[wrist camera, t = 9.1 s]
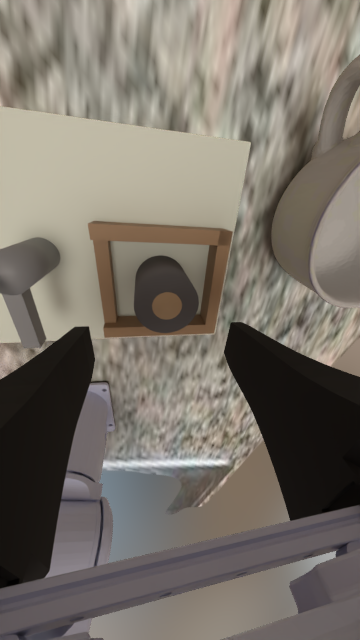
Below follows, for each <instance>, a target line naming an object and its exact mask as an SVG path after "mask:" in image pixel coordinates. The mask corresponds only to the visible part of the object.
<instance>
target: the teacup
mask: <svg viewBox="0 0 360 640" xmlns="http://www.w3.org/2000/svg"><path fill="white" fill-rule="evenodd" d="M359 85H360V55H359V56H358V57H356V58H355V59H354V60H353V61H352V62H351V63H350V64H349V65H348V66H347V68H346V69H345V70H344V71H343V72H342V74H341V75H340V76H339V78H338V79H337V81H336V83H335V84H334V86H333V88H332V90H331V92H330V95H329V98H328V100H327V103H326V106H325V109H324V113H323V116H322V120H321V125H320V131H319V136H318V141H317V143H316V144H315V145H314V147H313V150H312V159H311V161H310V162H309V163H307V164H306V165H305V166H304V167H303V168H302V169H301V170H300V172H299V173H298V174H297V175H296V176H295V177H294V179H293V180H292V181H291V183H290V184H289V186H288V187H287V189H286V190H285V192H284V194H283V195H282V197H281V199H280V201H279V204H278V206H277V209H276V212H275V215H274V218H273V223H272V232H271V241H272V248H273V251H274V255H275V257H276V259H277V261H278V262H279V264H280V266H281V267H282V268H283V269H284V270H285V271H286V272H287V273H288V274H289V275H290V276H292V277H293V278H294V279H296V280H297V281H299V282H300V283H302V284H303V285H305V286H306V287H308V288H309V289H311V290H312V291H314V292H316V293H317V294H318V295H319V296H320V297H321V298H322V299H323V300H325V301H326V302H328V303H330V304H332V305H335V306H337V307H343V308H359V307H360V131H359V132H358V133H357V134H356V135H355V136H352V137H350V138H347V139H345V140H343V138H342V136H343V131H344V126H345V122H346V118H347V114H348V111H349V108H350V105H351V102H352V100H353V98H354V95H355V93H356V91H357V89H358V87H359Z"/></svg>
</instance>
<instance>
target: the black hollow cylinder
mask: <svg viewBox="0 0 360 640" xmlns="http://www.w3.org/2000/svg"><path fill="white" fill-rule="evenodd" d="M198 306H199V298H198V294H197V291H196V289H195V288H194V286H193V284H192V283H191V281H190V280H189V278H188V276H187V275H186V273H185V272H184V270H183V268H182V267H181V265H180V264H179V263H178V262H177V261H176V260H174V259H173V258H171V257H168V256H163V255H159V256H153V257H150V258H148V259H147V260H145V261H144V262H143V263H142V264H141V265H140V266H139V268H138V270H137V272H136V277H135V292H134V311H135V315H136V317H137V319H138V320H139V321H140V323H141V324H142V325H143V326H145V327H146V328H148V329H149V330H152V331H154V332H159V333H171V332H175V331H178V330H180V329H182V328H184V327H185V326H187V325H188V324H189V323H190V322H191V321H192V320H193V318H194V317H195V315H196V313H197V311H198Z"/></svg>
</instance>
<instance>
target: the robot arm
mask: <svg viewBox="0 0 360 640" xmlns="http://www.w3.org/2000/svg"><path fill="white" fill-rule="evenodd" d="M224 354H225V357H226V360H227V363H228V365H229V368H230V370H231V372H232V374H233V376H234V378H235V379H236V381H237V383H238V385H239V387H240V389H241V391H242V392H243V394H244V396H245V398H246V400H247V402H248V404H249V406H250V408H251V410H252V412H253V414H254V417H255V419H256V421H257V424H258V426H259V429H260V431H261V434H262V436H263V439H264V442H265V444H266V447H267V449H268V452H269V455H270V458H271V461H272V464H273V466H274V469H275V472H276V475H277V478H278V482H279V485H280V488H281V491H282V494H283V498H284V501H285V504H286V507H287V511H288V514H289V518H290V521H288V522H284V523H279V524H275V525H271V526H267V527H262V528H258V529H254V530H250V531H245V532H241V533H237V534H233V535H228V536H224V537H220V538H215V539H211V540H206V541H202V542H198V543H194V544H189V545H185V546H181V547H176V548H172V549H168V550H163V551H159V552H155V553H151V554H146V555H142V556H138V557H133V558H129V559H125V560H121V561H116V562H112V563H108V560H109V555H110V549H111V542H112V532H113V517H112V511H111V508H110V506H109V502H108V500H107V498H105V497H101V492H102V485H103V484H100V483H99V481H100V478H101V473H102V466H103V459H104V452H105V445H106V438H107V432H111V431H114V430H115V422H114V416H113V409H112V403H111V397H110V390H109V385H108V383H106V382H100V383H90V382H91V379H92V374H93V369H94V362H95V357H94V351H93V346H92V340H91V335H90V329H89V326H82V327H74V328H73V329H71V330H70V331H69V332H67V333H66V334H65V335H63V336H62V337H61V338H60V339H58V340H57V341H56V342H54V343H53V344H52V345H51V346H49V347H48V348H47V349H45V350H44V351H43V352H41V353H40V354H38V355H37V356H36V357H34V358H33V359H31V360H30V361H29V362H27V363H26V364H24V365H23V366H21V367H20V368H18V369H17V370H15V371H14V372H12V373H11V374H9V375H7V376H6V377H4V378H2V379H1V380H0V640H103V638H90V636H89V634H88V633H89V629H90V625H91V620H92V618H94V617H98V616H101V615H104V614H109V613H112V612H116V611H120V610H123V609H127V608H130V607H134V606H138V605H141V604H145V603H148V602H152V601H156V600H159V599H162V598H166V597H170V596H174V595H177V594H181V593H184V592H188V591H192V590H196V589H199V588H203V587H206V586H210V585H213V584H217V583H221V582H224V581H228V580H232V579H235V578H239V577H243V576H246V575H250V574H253V573H257V572H260V571H264V570H268V569H271V568H275V567H279V566H282V565H286V564H290V563H293V562H296V561H300V560H304V559H307V558H311V557H315V556H318V555H322V554H326V553H329V552H333V551H336V558H333V559H331V560H329V561H326V562H323V563H320V564H318V565H316V566H315V567H314V568H313V569H312V570H311V571H309V572H308V573H306V574H305V575H303V576H301V577H299V578H297V579H295V580H293V581H291V582H290V586H289V587H290V589H291V592H292V595H293V597H294V599H295V602H296V605H297V608H298V614H297V615H294V616H291V617H287V618H284V619H281V620H278V621H275V622H272V623H270V624H266V625H263V626H260V627H257V628H254V629H251V630H248V631H245V632H242V633H239V634H237V635H233V636H231V637H227V638H224V639H222V640H360V377H358V376H355V375H352V374H349V373H346V372H343V371H341V370H338V369H335V368H332V367H330V366H328V365H325V364H323V363H320V362H318V361H316V360H313V359H311V358H309V357H306V356H304V355H302V354H300V353H298V352H296V351H294V350H292V349H290V348H288V347H286V346H284V345H282V344H280V343H279V342H277V341H275V340H273V339H271V338H270V337H268V336H266V335H264V334H263V333H261V332H259V331H257V330H256V329H254V328H252V327H250V326H248V325H246V324H244V323H242V322H232V323H231V324H230V329H229V333H228V337H227V341H226V346H225V350H224Z"/></svg>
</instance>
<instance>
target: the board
mask: <svg viewBox="0 0 360 640" xmlns="http://www.w3.org/2000/svg"><path fill="white" fill-rule="evenodd" d="M250 145H251V142H246V141H239V140H232V139H225V138H218V137H211V136H204V135H197V134H190V133H183V132H176V131H169V130H162V129H155V128H148V127H141V126H134V125H127V124H120V123H113V122H106V121H99V120H92V119H86V118H79V117H72V116H65V115H58V114H51V113H44V112H37V111H30V110H23V109H16V108H9V107H2V106H0V343H11V342H22V345H23V347H24V348H41V346H42V345H43V343H44V342H45V341H57V340H58V339H60V338H61V337H62V336H63V335H65V334H66V333H67V332H69V331H70V330H71V329H73V328H74V327H82V326H89V329H90V335H91V339H109V338H133V337H158V336H182V335H207V334H215V332H216V326H217V321H218V316H219V310H220V305H221V300H222V294H223V289H224V284H225V278H226V273H227V268H228V262H229V257H230V252H231V246H232V241H233V236H234V230H235V225H236V220H237V214H238V209H239V204H240V198H241V193H242V188H243V182H244V177H245V172H246V166H247V161H248V156H249V150H250ZM159 255H163V256H168V257H171V258H173V259H174V260H176V261H177V262H178V263H179V264H180V265H181V267H182V268H183V270H184V272H185V273H186V275H187V276H188V278H189V280H190V281H191V283H192V284H193V286H194V288H195V289H196V291H197V294H198V298H199V306H198V311H197V313H196V315H195V317H194V318H193V320H192V321H191V322H190V323H189V324H188V325H187V326H185V327H184V328H182V329H180V330H178V331H175V332H171V333H159V332H154V331H152V330H149V329H148V328H146V327H145V326H143V325H142V324H141V323H140V321H139V320H138V319H137V317H136V315H135V311H134V292H135V277H136V272H137V270H138V268H139V266H140V265H141V264H142V263H143V262H144V261H145V260H147V259H148V258H150V257H153V256H159Z"/></svg>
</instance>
